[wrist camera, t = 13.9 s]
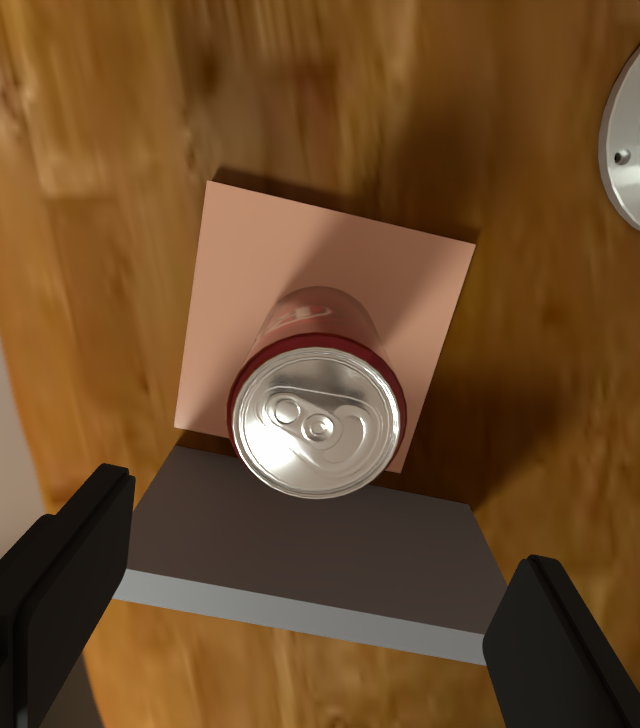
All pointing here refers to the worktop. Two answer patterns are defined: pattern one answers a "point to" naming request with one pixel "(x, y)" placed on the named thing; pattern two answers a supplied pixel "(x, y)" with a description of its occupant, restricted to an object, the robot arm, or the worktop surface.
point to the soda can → (317, 398)
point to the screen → (313, 559)
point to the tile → (306, 269)
